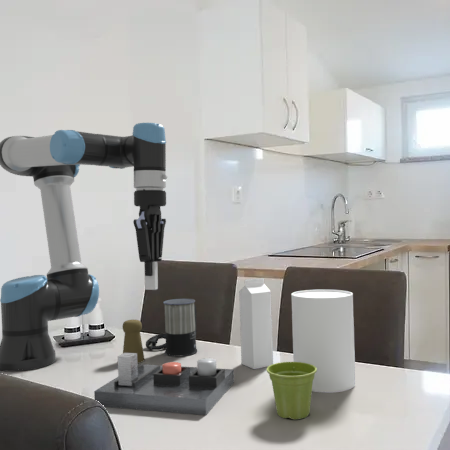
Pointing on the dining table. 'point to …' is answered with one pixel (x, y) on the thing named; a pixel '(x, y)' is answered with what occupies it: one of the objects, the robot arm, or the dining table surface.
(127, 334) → the cork
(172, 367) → the button
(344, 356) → the canister
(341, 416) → the dining table surface
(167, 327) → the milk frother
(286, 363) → the plant pot
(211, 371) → the grey button
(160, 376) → the panel
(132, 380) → the toggle
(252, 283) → the milk
